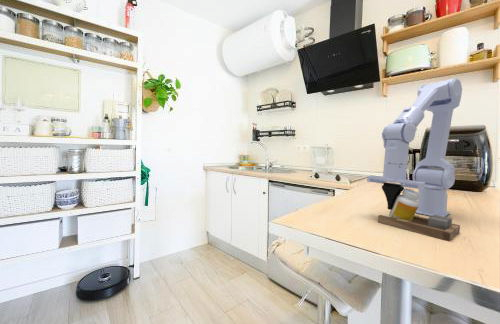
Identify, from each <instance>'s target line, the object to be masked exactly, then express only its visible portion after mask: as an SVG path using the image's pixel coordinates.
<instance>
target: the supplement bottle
mask: <svg viewBox="0 0 500 324" xmlns="http://www.w3.org/2000/svg"><path fill="white" fill-rule="evenodd" d="M401 193H402V194H400V195H399V196H398V197H397V198H396V201H395V203H394V205H393V208H392V210H390V211H391V212H390V211H389V214H388V217H392V218H396V219H403V220H407V221H409V222H411V221H412V219H413V217H414V215H416V214H417V213H416V211H417V209H418V207H419V202H418V199H419V197H420V193H418V191H416V190H414V189H411V188H404V190H403V191H402V192H401Z"/></svg>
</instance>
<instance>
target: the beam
mask: <svg viewBox="0 0 500 324" xmlns="http://www.w3.org/2000/svg"><path fill="white" fill-rule="evenodd" d="M390 212H391V210H389V213H390ZM452 221H453V218H452V217H449V216H445V217H444V216H439V215H433V216H429V217H428V218H427V217H423V216H420V215H417V214H415V215H414V217H413V219H412V221H411V222H409V221H407V220H403V219H396V218H392V217H389V216H388V215H384V214H378V216H377V223H379V224H383V225H387V226H390V227H393V228H394V227H395V228H397V229H403V230H406V231H409V232H410V231H411V232H413V233H417V234H422V235H425V236H428V237H432V238H437V239H440V240H444V241H448V242H450V241H452V240H453V239H454V238H455V237H456V236H458V234H460V229H461V225H460V224H455V223H453V222H452Z"/></svg>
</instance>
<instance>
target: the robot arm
mask: <svg viewBox="0 0 500 324" xmlns="http://www.w3.org/2000/svg"><path fill="white" fill-rule="evenodd" d="M462 94H463V85H462V82H461V80H460V79H458V78H457V77H452V78H451V79H446V80H442V81H438V82H433V83H429V84H423V85H421V86H420V87H419V89H418V90H417V98H416V99H415V101H414V102H413V104H412V105H411V106H408V107H404V109H403V110H402V111H401V113H400V115H399V116H398V117H397V118H396V119H395V120H394V121H393V123H389V124H387V125H386V126H385V127H384V128H383V131H382V132H381V138H382V141H383V148H384V149H385V150H384V161H383V172H382V173H383V174H382V176H377V175H376V176H375V175H367V180H366V182H368V183H374V184H375V183H376V184H382V185H381V190H382V192H383V193H384V195H385V199H386V202H387V210H389V211H391V210H392V208H393V205H394V203H395V201H396V198H397V197H398V196H399V195H401V193H402V192H403V190H404V189H405V188H408V189H411V188H412V189H417V190H418V191H417V192H418V193H420V197H419V199H418V200H417V201H418V202H419V207H418V209H417V211H416V213H415V214H420V215H426V216H429V217H431V216H433V215H439V216H444V217H448V215H450V214H451V212H450V211H447V209H448V208H447V207H448V193H447V190H449V189H450V188H452V187H453V186H454V185H455V180H456V174H455V171H456V169H455V166H454V165H453V164H452V163H451V162H449V161H447V160H446V154H447V149H448V142H449V137H450V130H451V126H452V119H453V113H454V110H455V109H457V108H458V107H459V106H460V102H461V100H462ZM425 111H427V112H430V113H431V112H432V119H431V126H430V131H429V137H428V141H427V147H426V154H425V158H423V159H422V160H419V161H418V162H416V165H415V168H414V171H413V173H412V180H411V179H407V170H408V161H409V149H410V143H412V142H413V141H414V140H415V137H416V132H417V130H418V129H417V128H418V126H419V125H420V124H421V122H422V121H423V120H424V119H425Z"/></svg>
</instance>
